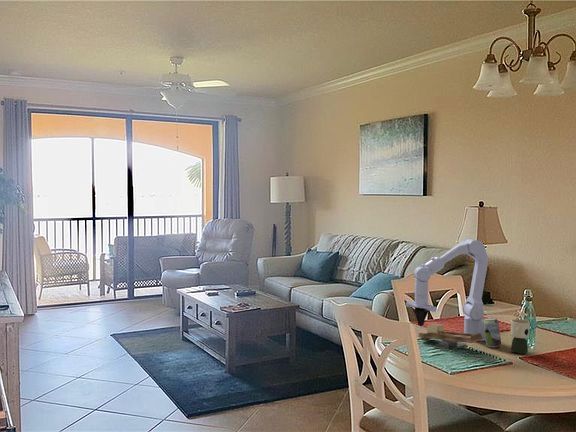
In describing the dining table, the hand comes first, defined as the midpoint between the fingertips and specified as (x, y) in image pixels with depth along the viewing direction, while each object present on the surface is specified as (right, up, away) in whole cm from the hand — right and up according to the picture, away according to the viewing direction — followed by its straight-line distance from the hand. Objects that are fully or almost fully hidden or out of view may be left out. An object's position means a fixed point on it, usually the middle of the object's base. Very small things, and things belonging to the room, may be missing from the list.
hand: (420, 325), depth 245 cm
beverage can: (+28, -7, -10) cm, 30 cm away
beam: (+10, -5, -11) cm, 15 cm away
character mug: (+35, -8, -19) cm, 41 cm away
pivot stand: (+10, -7, -10) cm, 16 cm away
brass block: (+5, -3, -6) cm, 8 cm away
